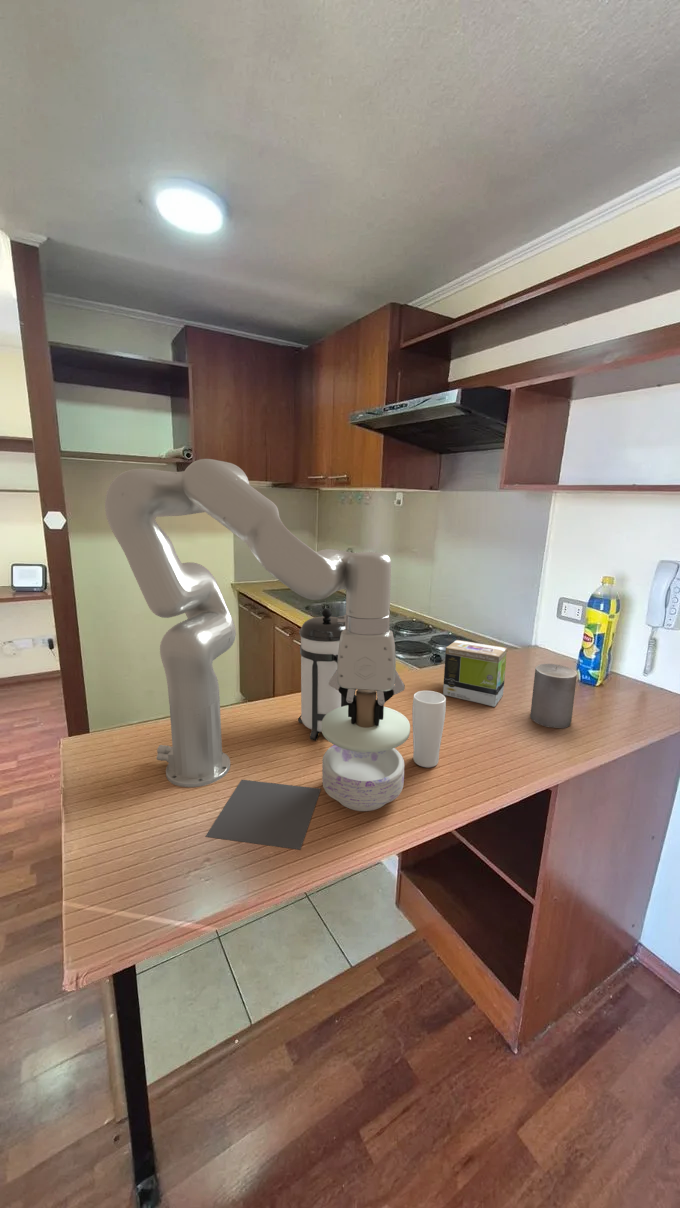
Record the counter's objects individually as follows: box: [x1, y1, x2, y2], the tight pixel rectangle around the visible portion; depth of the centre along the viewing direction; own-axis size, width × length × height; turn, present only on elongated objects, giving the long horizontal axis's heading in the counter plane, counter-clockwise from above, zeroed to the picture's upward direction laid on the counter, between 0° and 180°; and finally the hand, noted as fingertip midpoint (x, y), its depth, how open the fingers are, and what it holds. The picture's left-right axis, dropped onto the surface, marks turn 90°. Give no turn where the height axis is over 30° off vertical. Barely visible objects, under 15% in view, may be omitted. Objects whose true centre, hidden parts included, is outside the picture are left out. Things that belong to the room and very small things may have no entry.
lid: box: [321, 690, 411, 752], centre depth 83 cm, size 16×16×7 cm
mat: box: [205, 779, 322, 851], centre depth 82 cm, size 16×16×1 cm
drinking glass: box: [411, 690, 447, 768], centre depth 97 cm, size 7×7×15 cm
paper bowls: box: [321, 744, 405, 812], centre depth 86 cm, size 15×15×8 cm
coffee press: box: [297, 608, 348, 742], centre depth 108 cm, size 17×16×30 cm
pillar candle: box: [529, 663, 578, 729], centre depth 117 cm, size 10×10×15 cm
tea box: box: [442, 639, 508, 708], centre depth 131 cm, size 15×10×15 cm, turn 58°
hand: (365, 720), depth 83 cm, fingers closed on lid, 3 cm apart
